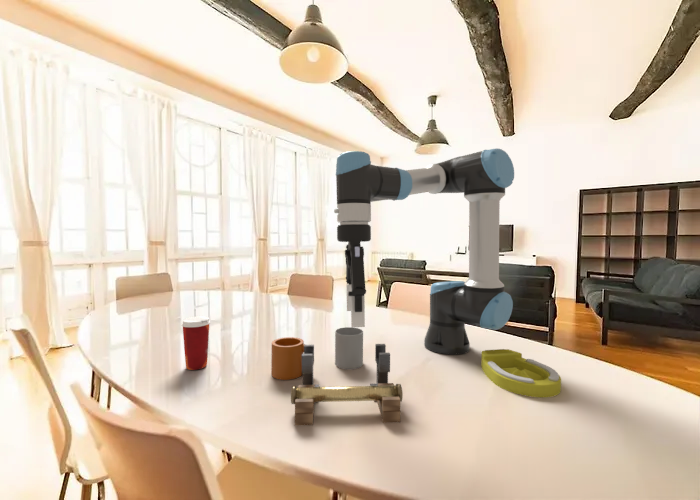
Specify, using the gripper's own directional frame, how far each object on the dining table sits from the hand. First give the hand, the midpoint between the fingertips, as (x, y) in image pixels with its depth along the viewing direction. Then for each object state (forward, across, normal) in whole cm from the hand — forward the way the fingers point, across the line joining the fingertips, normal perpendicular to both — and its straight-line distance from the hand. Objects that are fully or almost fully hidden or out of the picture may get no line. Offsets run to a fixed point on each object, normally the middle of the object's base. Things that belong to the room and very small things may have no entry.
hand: (354, 318), depth 72 cm
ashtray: (+22, -10, +45) cm, 51 cm away
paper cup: (+20, -24, -45) cm, 55 cm away
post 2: (+20, -4, +7) cm, 22 cm away
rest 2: (+20, +4, +7) cm, 22 cm away
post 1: (+20, -5, -11) cm, 23 cm away
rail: (+17, +4, -2) cm, 18 cm away
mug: (+20, -17, -16) cm, 31 cm away
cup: (+21, -23, 0) cm, 31 cm away
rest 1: (+20, +4, -11) cm, 23 cm away
